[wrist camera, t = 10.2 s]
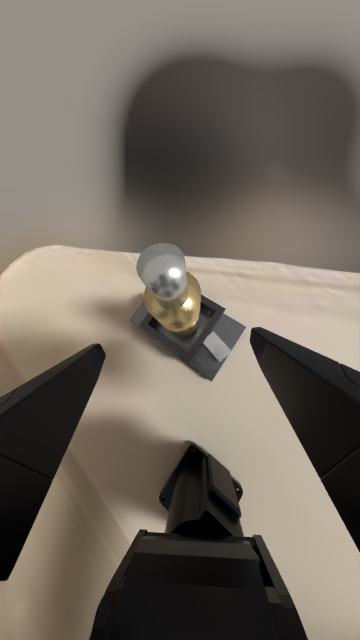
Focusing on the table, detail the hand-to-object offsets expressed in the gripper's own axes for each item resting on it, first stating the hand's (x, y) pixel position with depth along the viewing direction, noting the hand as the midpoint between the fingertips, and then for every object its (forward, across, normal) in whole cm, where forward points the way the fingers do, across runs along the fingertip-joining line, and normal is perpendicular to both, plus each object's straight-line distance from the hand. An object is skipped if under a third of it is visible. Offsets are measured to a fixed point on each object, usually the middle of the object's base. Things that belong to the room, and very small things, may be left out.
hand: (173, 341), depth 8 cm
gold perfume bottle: (+10, 0, +5) cm, 11 cm away
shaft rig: (+10, 0, +5) cm, 12 cm away
